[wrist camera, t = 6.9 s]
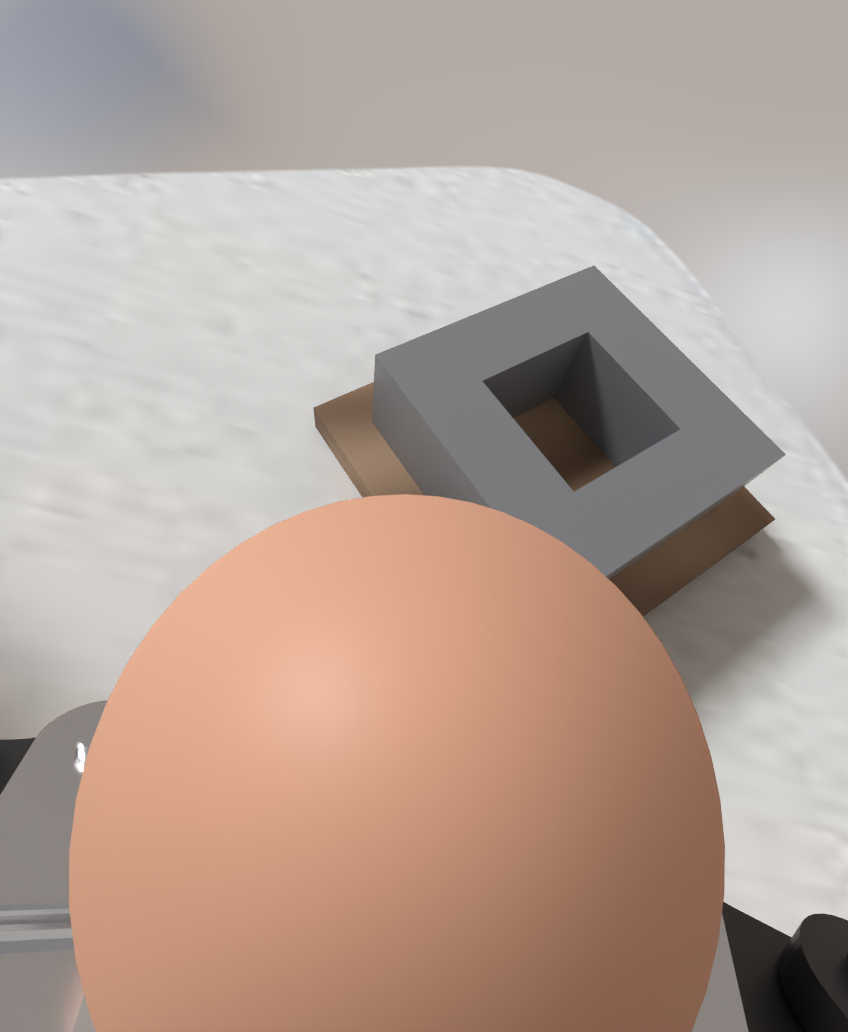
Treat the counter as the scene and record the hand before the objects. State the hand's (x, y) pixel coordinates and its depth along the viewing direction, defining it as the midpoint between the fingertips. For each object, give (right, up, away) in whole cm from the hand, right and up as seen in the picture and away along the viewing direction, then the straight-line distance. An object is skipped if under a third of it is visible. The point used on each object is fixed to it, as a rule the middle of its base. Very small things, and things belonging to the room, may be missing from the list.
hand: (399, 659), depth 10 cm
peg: (-1, -4, +3) cm, 5 cm away
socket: (+6, +5, +16) cm, 18 cm away
